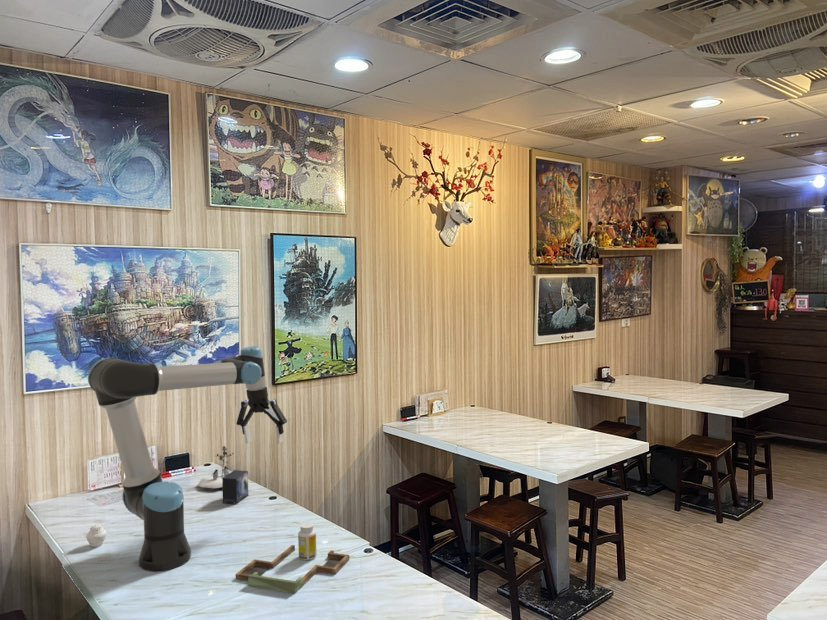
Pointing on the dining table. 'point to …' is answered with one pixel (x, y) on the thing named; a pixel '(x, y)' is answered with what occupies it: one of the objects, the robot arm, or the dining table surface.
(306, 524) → the supplement bottle
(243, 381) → the robot arm
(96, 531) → the off-white rounded lump
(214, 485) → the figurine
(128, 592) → the dining table surface
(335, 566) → the lane
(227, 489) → the small box
